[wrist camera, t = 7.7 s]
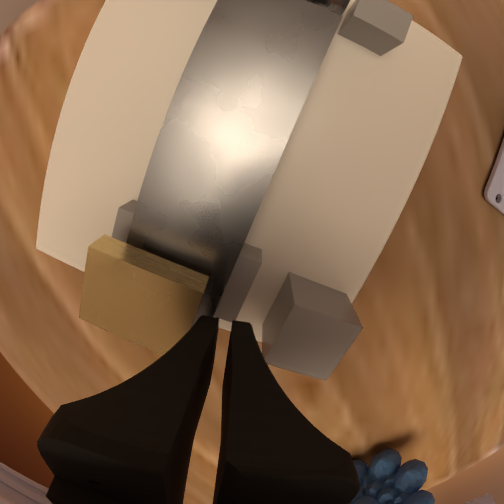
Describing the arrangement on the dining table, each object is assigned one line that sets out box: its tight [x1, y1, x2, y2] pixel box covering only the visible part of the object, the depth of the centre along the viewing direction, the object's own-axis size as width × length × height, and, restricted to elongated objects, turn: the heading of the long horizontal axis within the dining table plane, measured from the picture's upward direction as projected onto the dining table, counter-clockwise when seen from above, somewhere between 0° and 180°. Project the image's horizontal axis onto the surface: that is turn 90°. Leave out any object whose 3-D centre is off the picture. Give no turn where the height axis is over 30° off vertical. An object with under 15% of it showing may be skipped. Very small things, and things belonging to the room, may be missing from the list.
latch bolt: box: [79, 234, 209, 355], centre depth 10 cm, size 4×3×1 cm
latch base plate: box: [36, 0, 462, 380], centre depth 11 cm, size 16×17×4 cm
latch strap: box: [126, 0, 350, 327], centre depth 10 cm, size 15×4×1 cm, turn 158°
